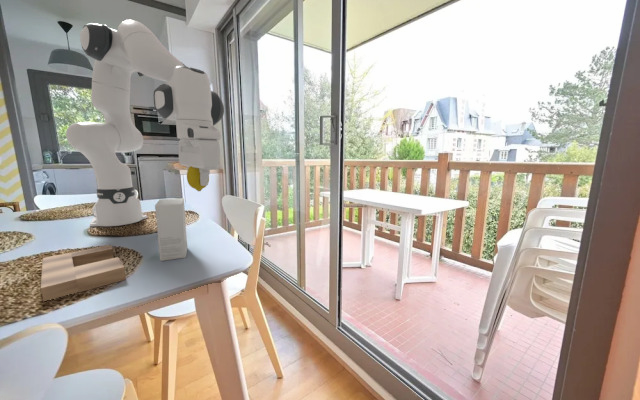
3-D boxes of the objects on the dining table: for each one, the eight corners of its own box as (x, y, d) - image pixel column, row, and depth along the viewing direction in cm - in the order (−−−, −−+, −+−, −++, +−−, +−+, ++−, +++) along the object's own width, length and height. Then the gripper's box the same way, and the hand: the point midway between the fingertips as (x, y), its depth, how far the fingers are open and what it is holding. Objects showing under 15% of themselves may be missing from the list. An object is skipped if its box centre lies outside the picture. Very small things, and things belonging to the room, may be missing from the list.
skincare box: (164, 250, 76) (158, 199, 73) (189, 247, 79) (184, 197, 76) (159, 261, 68) (153, 204, 66) (187, 258, 71) (182, 202, 68)
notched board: (45, 269, 64) (42, 257, 63) (111, 254, 73) (110, 244, 72) (43, 302, 50) (40, 288, 49) (126, 279, 59) (124, 267, 59)
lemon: (201, 193, 68) (199, 162, 67) (183, 192, 70) (180, 162, 68) (214, 190, 74) (212, 162, 72) (197, 189, 75) (195, 162, 74)
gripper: (170, 132, 74) (174, 180, 76) (197, 130, 60) (200, 189, 62) (193, 134, 78) (196, 179, 81) (223, 132, 64) (226, 187, 67)
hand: (198, 184), depth 71 cm, fingers closed on lemon, 5 cm apart
